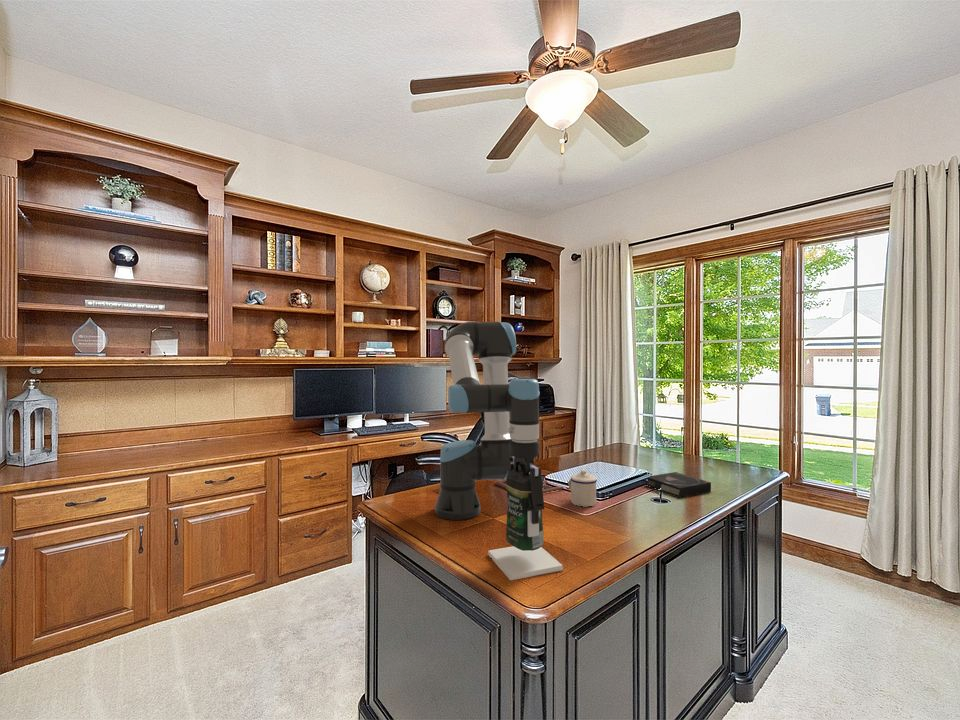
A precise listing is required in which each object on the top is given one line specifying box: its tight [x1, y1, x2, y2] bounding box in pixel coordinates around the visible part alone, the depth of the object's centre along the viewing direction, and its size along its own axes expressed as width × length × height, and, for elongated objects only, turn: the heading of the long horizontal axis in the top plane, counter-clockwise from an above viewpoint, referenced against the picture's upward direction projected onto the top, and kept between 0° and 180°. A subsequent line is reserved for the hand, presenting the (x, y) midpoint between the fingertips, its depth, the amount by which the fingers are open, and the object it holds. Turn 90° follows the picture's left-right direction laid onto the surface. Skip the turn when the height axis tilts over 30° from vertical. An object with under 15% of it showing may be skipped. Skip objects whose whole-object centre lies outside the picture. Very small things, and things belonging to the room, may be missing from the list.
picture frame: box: [495, 472, 563, 493], centre depth 177 cm, size 20×2×25 cm
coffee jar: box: [505, 470, 544, 551], centre depth 112 cm, size 10×8×19 cm
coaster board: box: [487, 545, 564, 581], centre depth 112 cm, size 14×14×1 cm
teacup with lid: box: [567, 469, 598, 508], centre depth 158 cm, size 12×9×12 cm
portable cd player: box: [645, 471, 712, 499], centre depth 173 cm, size 16×17×4 cm
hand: (524, 528), depth 112 cm, fingers closed on coffee jar, 9 cm apart
